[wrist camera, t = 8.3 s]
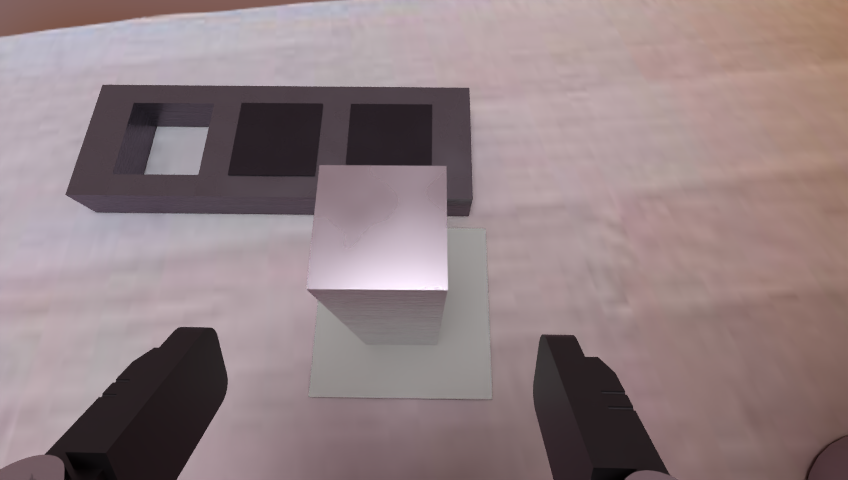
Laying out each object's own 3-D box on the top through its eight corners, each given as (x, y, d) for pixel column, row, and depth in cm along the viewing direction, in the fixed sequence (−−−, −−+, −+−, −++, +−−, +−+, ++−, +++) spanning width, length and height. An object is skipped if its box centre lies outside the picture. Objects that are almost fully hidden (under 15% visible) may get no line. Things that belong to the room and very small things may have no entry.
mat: (484, 230, 27) (485, 228, 27) (491, 399, 24) (492, 399, 23) (326, 229, 27) (325, 226, 27) (310, 397, 24) (308, 396, 23)
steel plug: (436, 276, 26) (446, 165, 14) (436, 345, 24) (447, 289, 12) (369, 276, 26) (319, 165, 14) (365, 344, 24) (306, 288, 12)
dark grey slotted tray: (465, 112, 30) (469, 86, 28) (468, 216, 28) (472, 198, 25) (127, 109, 30) (101, 83, 28) (96, 212, 28) (64, 194, 25)
